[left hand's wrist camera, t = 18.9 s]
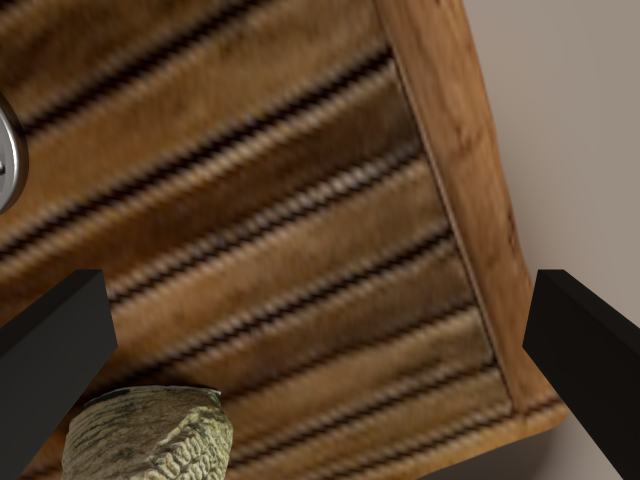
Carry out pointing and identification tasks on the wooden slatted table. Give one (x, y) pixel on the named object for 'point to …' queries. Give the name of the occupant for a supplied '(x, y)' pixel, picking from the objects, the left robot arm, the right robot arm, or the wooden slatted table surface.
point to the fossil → (149, 436)
